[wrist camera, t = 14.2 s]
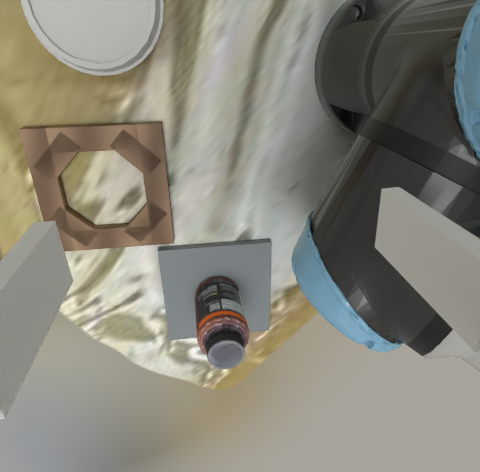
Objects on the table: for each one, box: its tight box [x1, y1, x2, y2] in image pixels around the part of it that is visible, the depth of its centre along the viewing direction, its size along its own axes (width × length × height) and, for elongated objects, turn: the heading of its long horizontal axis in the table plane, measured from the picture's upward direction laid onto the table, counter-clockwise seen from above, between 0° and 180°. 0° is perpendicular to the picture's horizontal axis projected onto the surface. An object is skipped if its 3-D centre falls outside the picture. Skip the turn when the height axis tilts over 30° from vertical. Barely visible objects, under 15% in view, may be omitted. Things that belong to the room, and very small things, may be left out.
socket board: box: [19, 122, 174, 251], centre depth 42 cm, size 14×14×1 cm
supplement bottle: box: [195, 277, 249, 369], centre depth 45 cm, size 6×6×11 cm
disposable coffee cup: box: [21, 0, 164, 76], centre depth 30 cm, size 10×10×12 cm
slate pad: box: [158, 239, 271, 340], centre depth 50 cm, size 14×14×1 cm
